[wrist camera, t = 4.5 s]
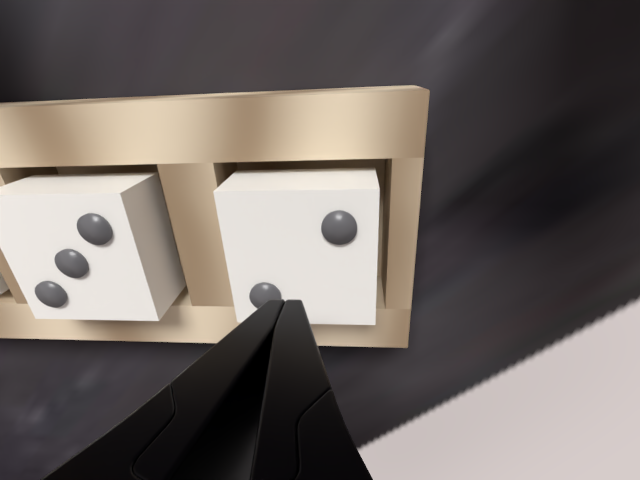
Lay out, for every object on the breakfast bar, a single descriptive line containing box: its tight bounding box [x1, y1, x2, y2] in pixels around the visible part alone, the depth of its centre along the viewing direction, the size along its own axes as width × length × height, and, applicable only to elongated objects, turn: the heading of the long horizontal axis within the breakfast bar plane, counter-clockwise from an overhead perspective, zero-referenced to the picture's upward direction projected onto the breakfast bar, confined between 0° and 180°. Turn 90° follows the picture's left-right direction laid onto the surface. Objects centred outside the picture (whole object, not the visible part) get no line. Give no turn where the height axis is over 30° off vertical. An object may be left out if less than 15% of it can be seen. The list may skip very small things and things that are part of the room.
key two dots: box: [213, 168, 380, 325], centre depth 13 cm, size 5×5×2 cm
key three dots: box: [0, 172, 186, 321], centre depth 13 cm, size 5×5×2 cm
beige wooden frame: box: [0, 85, 430, 348], centre depth 15 cm, size 24×10×3 cm, turn 92°
